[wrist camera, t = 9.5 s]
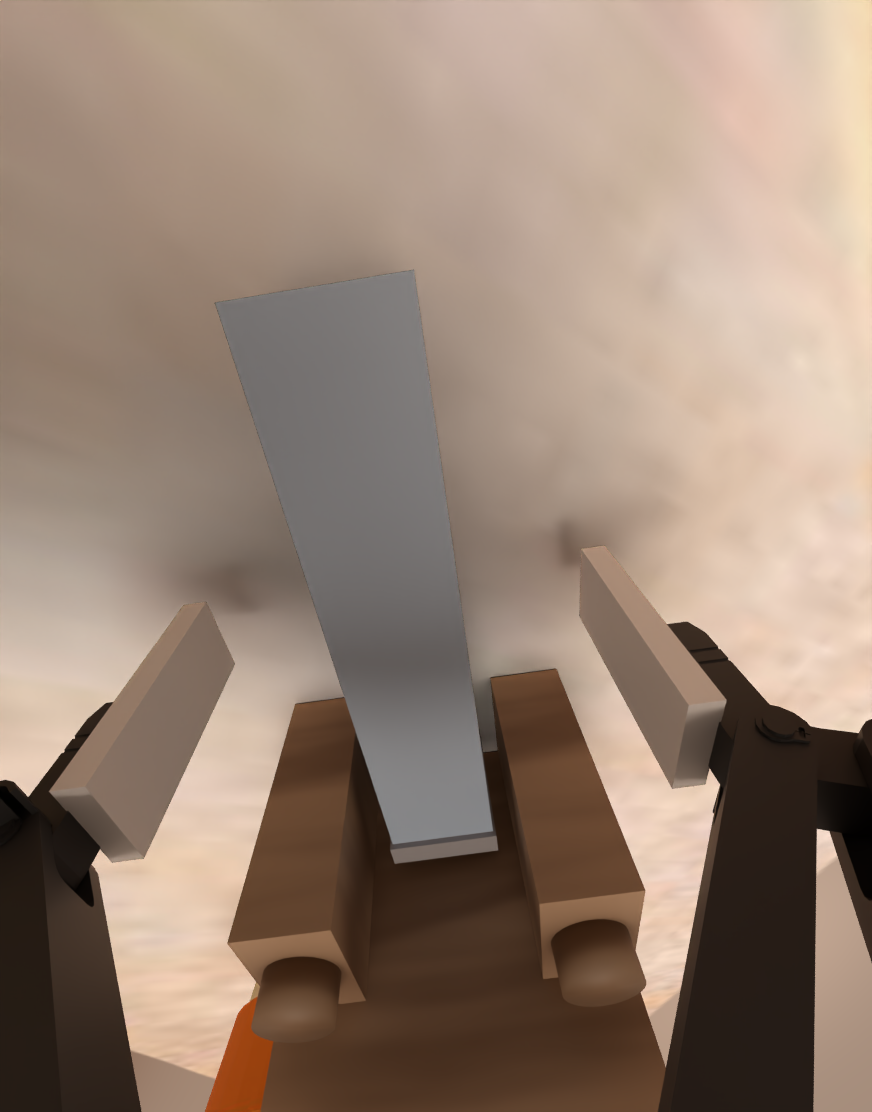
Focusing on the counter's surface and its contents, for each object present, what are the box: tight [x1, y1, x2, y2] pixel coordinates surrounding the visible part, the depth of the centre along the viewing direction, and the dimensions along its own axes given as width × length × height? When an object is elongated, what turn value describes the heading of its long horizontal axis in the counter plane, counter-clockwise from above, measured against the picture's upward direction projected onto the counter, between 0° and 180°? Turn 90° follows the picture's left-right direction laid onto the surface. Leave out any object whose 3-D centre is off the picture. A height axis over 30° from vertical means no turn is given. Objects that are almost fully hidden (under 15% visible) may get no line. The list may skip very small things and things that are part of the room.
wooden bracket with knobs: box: [227, 669, 666, 1112], centre depth 17 cm, size 7×12×14 cm, turn 98°
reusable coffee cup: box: [205, 982, 273, 1112], centre depth 24 cm, size 13×13×15 cm
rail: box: [215, 270, 498, 864], centre depth 16 cm, size 20×4×5 cm, turn 8°
